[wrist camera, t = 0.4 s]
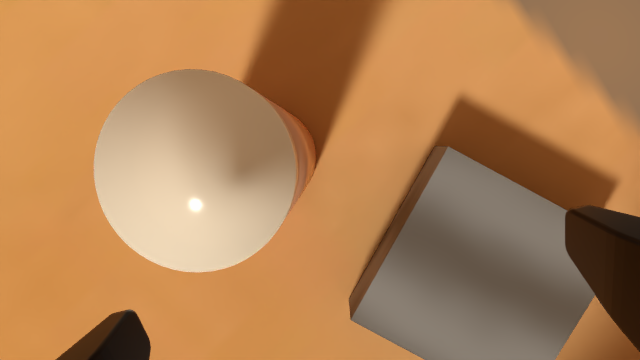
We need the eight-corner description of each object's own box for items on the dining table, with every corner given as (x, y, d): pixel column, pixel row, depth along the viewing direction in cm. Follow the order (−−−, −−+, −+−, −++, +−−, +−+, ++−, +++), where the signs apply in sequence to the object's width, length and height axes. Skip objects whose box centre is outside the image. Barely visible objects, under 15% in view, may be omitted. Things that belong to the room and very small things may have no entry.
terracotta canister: (287, 223, 26) (237, 307, 13) (200, 177, 25) (60, 213, 13) (333, 136, 25) (331, 130, 12) (245, 89, 25) (148, 31, 12)
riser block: (501, 380, 26) (522, 411, 23) (348, 299, 26) (350, 319, 23) (592, 230, 25) (627, 243, 22) (434, 146, 25) (448, 146, 22)
